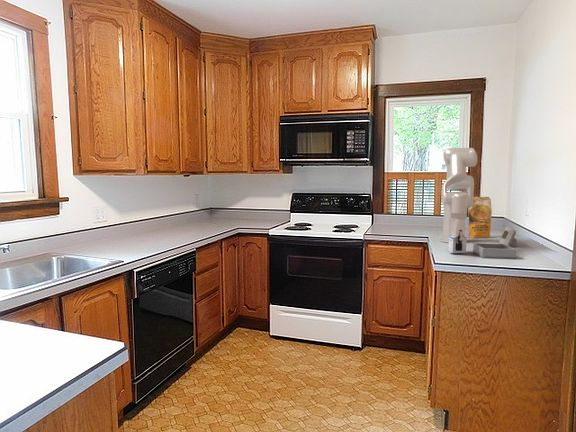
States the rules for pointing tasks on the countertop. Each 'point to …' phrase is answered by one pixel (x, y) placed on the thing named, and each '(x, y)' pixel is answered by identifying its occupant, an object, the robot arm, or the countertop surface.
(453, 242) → the medicine box
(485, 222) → the pancake mix bag
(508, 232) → the digital clock
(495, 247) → the bin
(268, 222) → the countertop surface
